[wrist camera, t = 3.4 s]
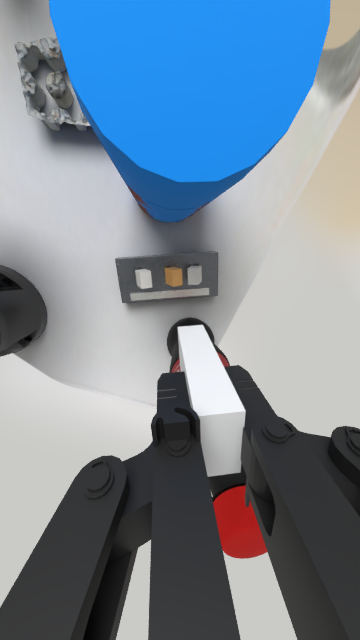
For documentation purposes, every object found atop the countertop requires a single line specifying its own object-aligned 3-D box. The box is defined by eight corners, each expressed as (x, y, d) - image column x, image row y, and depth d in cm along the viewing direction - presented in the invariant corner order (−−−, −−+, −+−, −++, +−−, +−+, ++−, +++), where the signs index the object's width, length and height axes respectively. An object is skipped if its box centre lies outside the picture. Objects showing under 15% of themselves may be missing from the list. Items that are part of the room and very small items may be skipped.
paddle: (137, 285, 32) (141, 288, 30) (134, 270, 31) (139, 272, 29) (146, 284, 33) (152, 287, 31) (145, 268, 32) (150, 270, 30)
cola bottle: (157, 339, 40) (154, 569, 12) (184, 305, 38) (253, 486, 10) (191, 360, 42) (253, 591, 15) (218, 329, 40) (349, 528, 13)
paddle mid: (165, 283, 33) (172, 286, 30) (164, 268, 32) (171, 270, 29) (175, 282, 33) (182, 285, 31) (174, 266, 32) (181, 268, 30)
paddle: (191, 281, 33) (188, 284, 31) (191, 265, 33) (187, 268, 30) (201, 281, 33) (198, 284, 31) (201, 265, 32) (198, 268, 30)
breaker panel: (124, 298, 36) (121, 303, 34) (118, 257, 34) (114, 259, 31) (213, 292, 38) (218, 296, 35) (214, 251, 35) (218, 252, 32)
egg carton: (118, 64, 26) (111, 34, 22) (122, 139, 29) (116, 123, 25) (27, 52, 25) (3, 19, 21) (40, 131, 28) (21, 114, 24)
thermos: (167, 238, 34) (184, 239, 10) (115, 180, 30) (-29, -14, 7) (218, 187, 32) (381, 45, 8) (170, 118, 28) (222, -449, 5)
